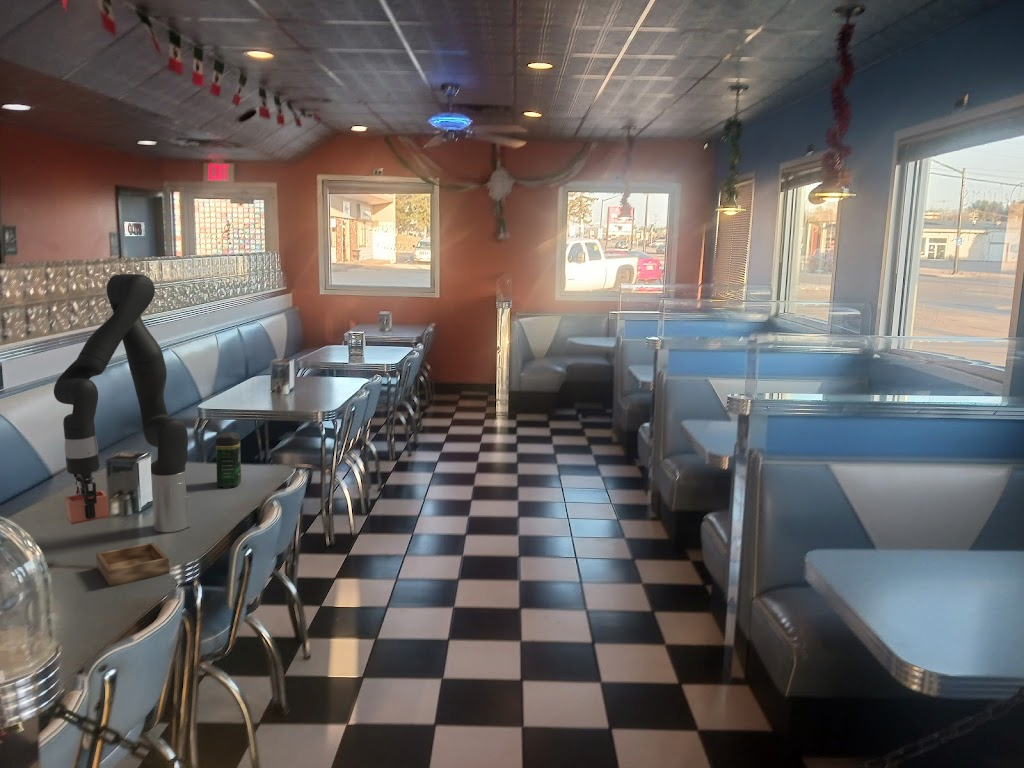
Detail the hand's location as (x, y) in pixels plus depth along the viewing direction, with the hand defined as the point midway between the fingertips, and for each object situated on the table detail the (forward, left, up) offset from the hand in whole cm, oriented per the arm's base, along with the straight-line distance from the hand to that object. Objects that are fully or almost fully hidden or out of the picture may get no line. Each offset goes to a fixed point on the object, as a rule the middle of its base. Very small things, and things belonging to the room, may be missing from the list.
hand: (88, 514), depth 205 cm
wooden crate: (-7, +16, -12) cm, 21 cm away
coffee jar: (-53, -44, -12) cm, 70 cm away
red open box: (0, 0, -1) cm, 1 cm away
